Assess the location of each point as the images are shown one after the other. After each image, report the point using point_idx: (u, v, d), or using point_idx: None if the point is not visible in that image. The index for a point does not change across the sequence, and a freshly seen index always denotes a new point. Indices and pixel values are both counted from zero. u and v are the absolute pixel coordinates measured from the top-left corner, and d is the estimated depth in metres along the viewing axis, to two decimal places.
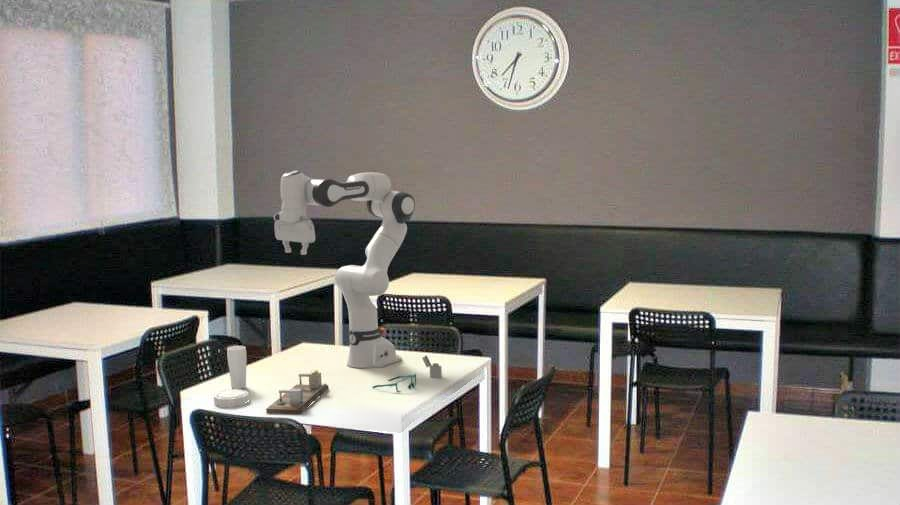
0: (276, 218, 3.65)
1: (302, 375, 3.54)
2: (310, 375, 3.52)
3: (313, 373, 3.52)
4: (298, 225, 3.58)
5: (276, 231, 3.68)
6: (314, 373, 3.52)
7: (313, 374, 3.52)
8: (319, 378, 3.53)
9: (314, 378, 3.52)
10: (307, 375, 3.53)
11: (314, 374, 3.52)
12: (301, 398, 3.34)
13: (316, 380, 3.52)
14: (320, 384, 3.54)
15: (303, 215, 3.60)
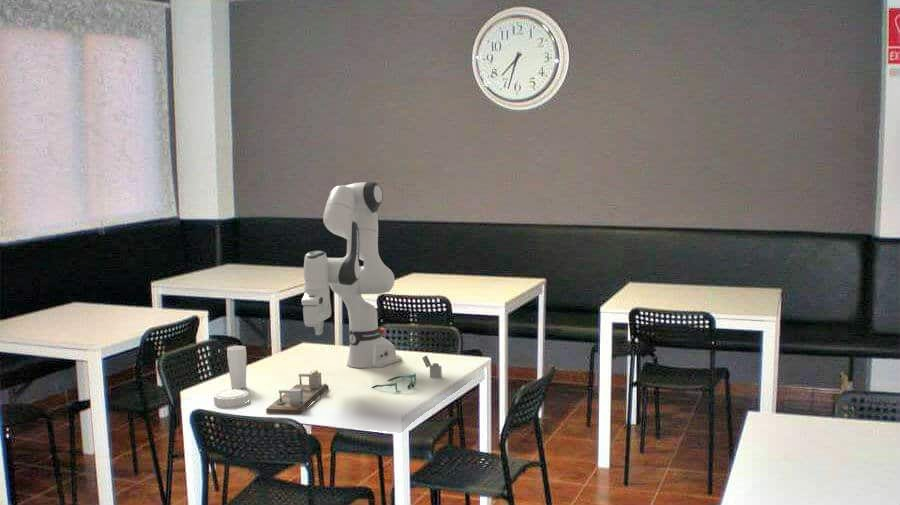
0: (320, 302, 3.50)
1: (302, 375, 3.54)
2: (310, 375, 3.52)
3: (313, 373, 3.52)
4: (326, 302, 3.61)
5: (315, 317, 3.48)
6: (314, 373, 3.52)
7: (313, 374, 3.52)
8: (319, 378, 3.53)
9: (314, 378, 3.52)
10: (307, 375, 3.53)
11: (314, 374, 3.52)
12: (301, 398, 3.34)
13: (316, 380, 3.52)
14: (320, 384, 3.54)
15: None
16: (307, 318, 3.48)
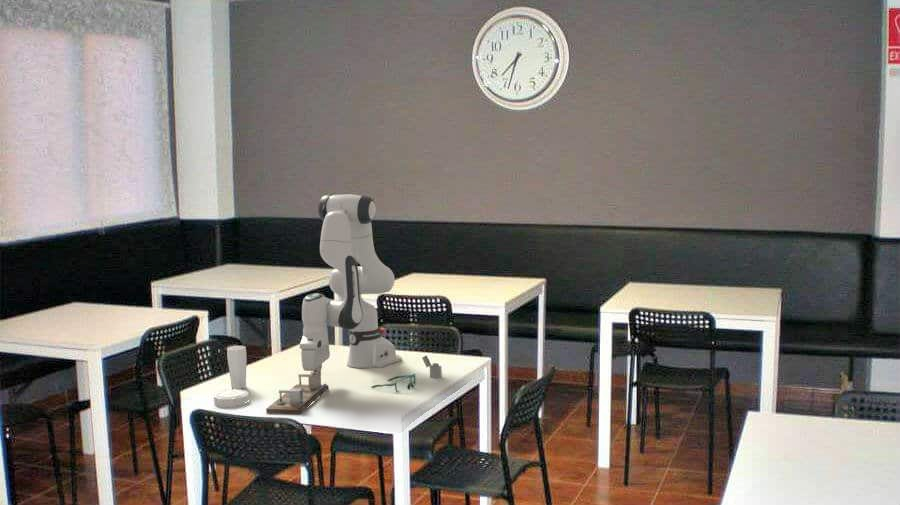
0: (318, 346, 3.48)
1: (302, 375, 3.53)
2: (310, 375, 3.52)
3: (313, 373, 3.52)
4: (325, 344, 3.59)
5: (313, 361, 3.47)
6: (314, 373, 3.52)
7: (313, 374, 3.52)
8: (319, 378, 3.53)
9: (313, 378, 3.52)
10: (307, 375, 3.53)
11: (314, 374, 3.52)
12: (301, 398, 3.34)
13: (315, 381, 3.52)
14: (320, 384, 3.53)
15: None
16: (305, 362, 3.46)
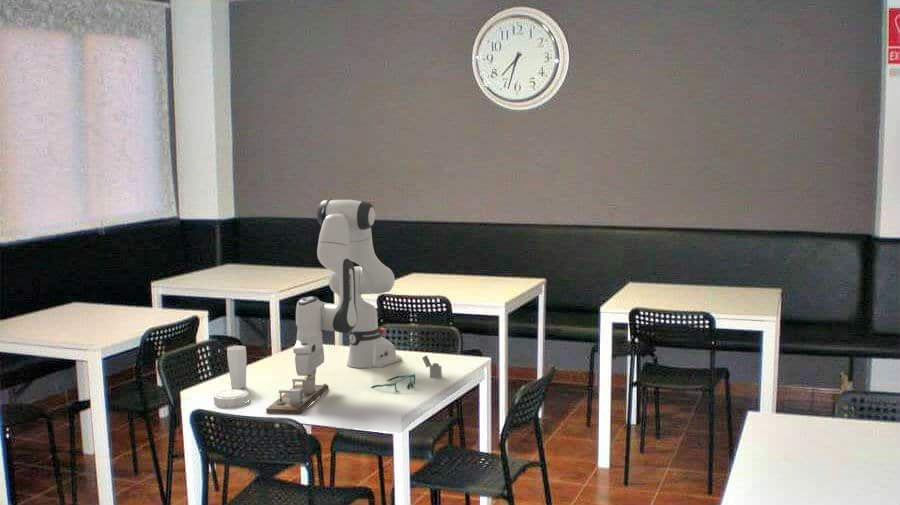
0: (312, 350, 3.41)
1: (295, 380, 3.47)
2: (304, 380, 3.45)
3: (307, 378, 3.45)
4: (319, 349, 3.53)
5: (307, 366, 3.40)
6: (308, 378, 3.45)
7: (307, 379, 3.45)
8: (313, 383, 3.46)
9: (308, 383, 3.45)
10: (301, 380, 3.47)
11: (308, 379, 3.45)
12: (301, 398, 3.34)
13: (309, 386, 3.45)
14: (314, 389, 3.47)
15: None
16: (299, 367, 3.39)
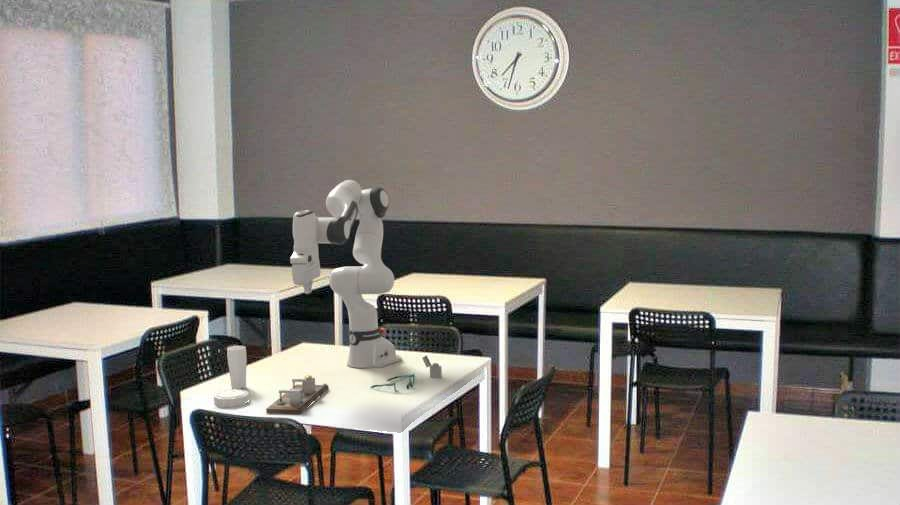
0: (309, 260, 3.51)
1: (295, 380, 3.47)
2: (304, 380, 3.45)
3: (307, 378, 3.45)
4: (315, 262, 3.62)
5: (304, 275, 3.50)
6: (308, 378, 3.45)
7: (307, 379, 3.45)
8: (313, 383, 3.46)
9: (307, 383, 3.45)
10: (301, 380, 3.47)
11: (308, 379, 3.45)
12: (301, 398, 3.34)
13: (309, 386, 3.45)
14: (314, 389, 3.47)
15: None
16: (296, 276, 3.49)
